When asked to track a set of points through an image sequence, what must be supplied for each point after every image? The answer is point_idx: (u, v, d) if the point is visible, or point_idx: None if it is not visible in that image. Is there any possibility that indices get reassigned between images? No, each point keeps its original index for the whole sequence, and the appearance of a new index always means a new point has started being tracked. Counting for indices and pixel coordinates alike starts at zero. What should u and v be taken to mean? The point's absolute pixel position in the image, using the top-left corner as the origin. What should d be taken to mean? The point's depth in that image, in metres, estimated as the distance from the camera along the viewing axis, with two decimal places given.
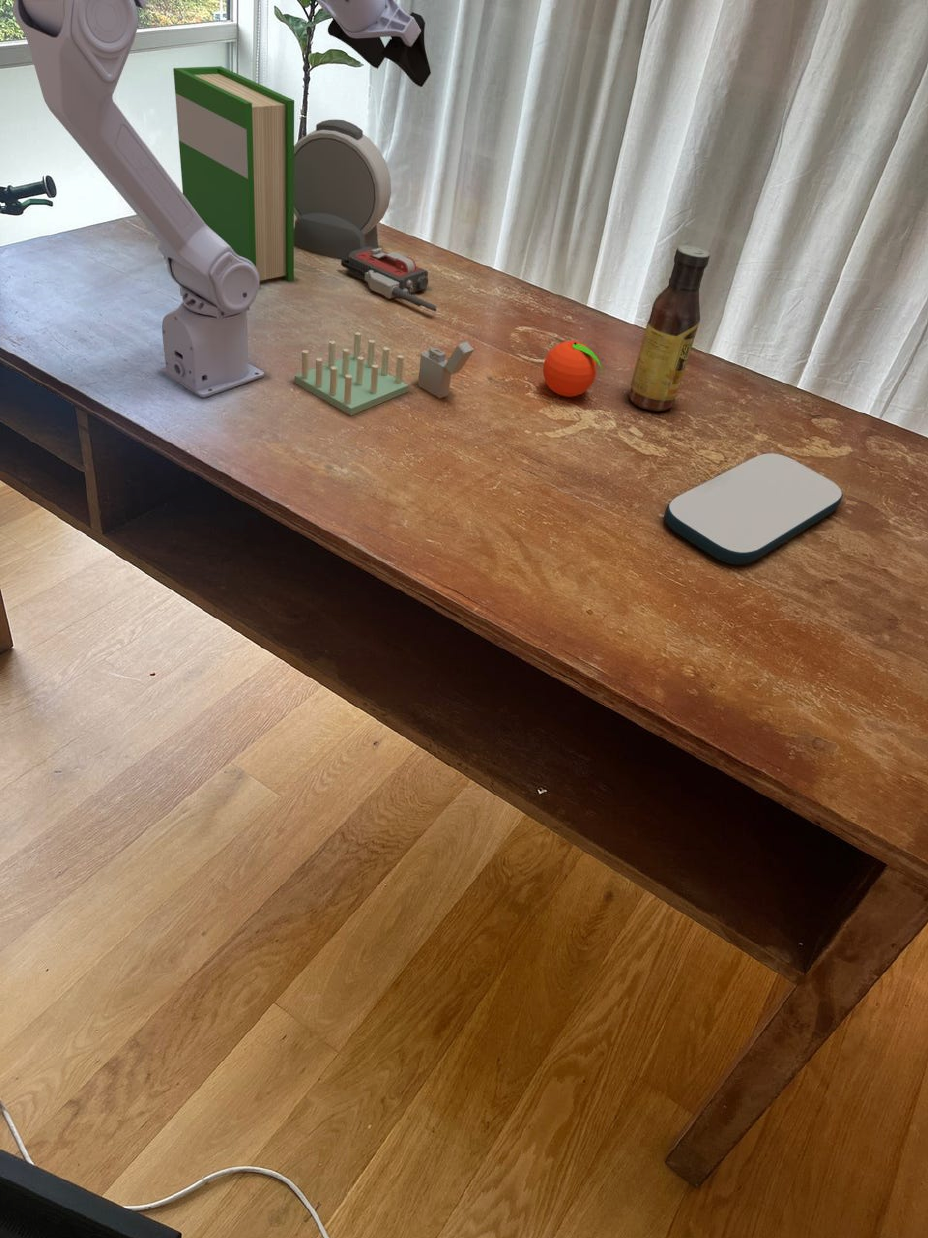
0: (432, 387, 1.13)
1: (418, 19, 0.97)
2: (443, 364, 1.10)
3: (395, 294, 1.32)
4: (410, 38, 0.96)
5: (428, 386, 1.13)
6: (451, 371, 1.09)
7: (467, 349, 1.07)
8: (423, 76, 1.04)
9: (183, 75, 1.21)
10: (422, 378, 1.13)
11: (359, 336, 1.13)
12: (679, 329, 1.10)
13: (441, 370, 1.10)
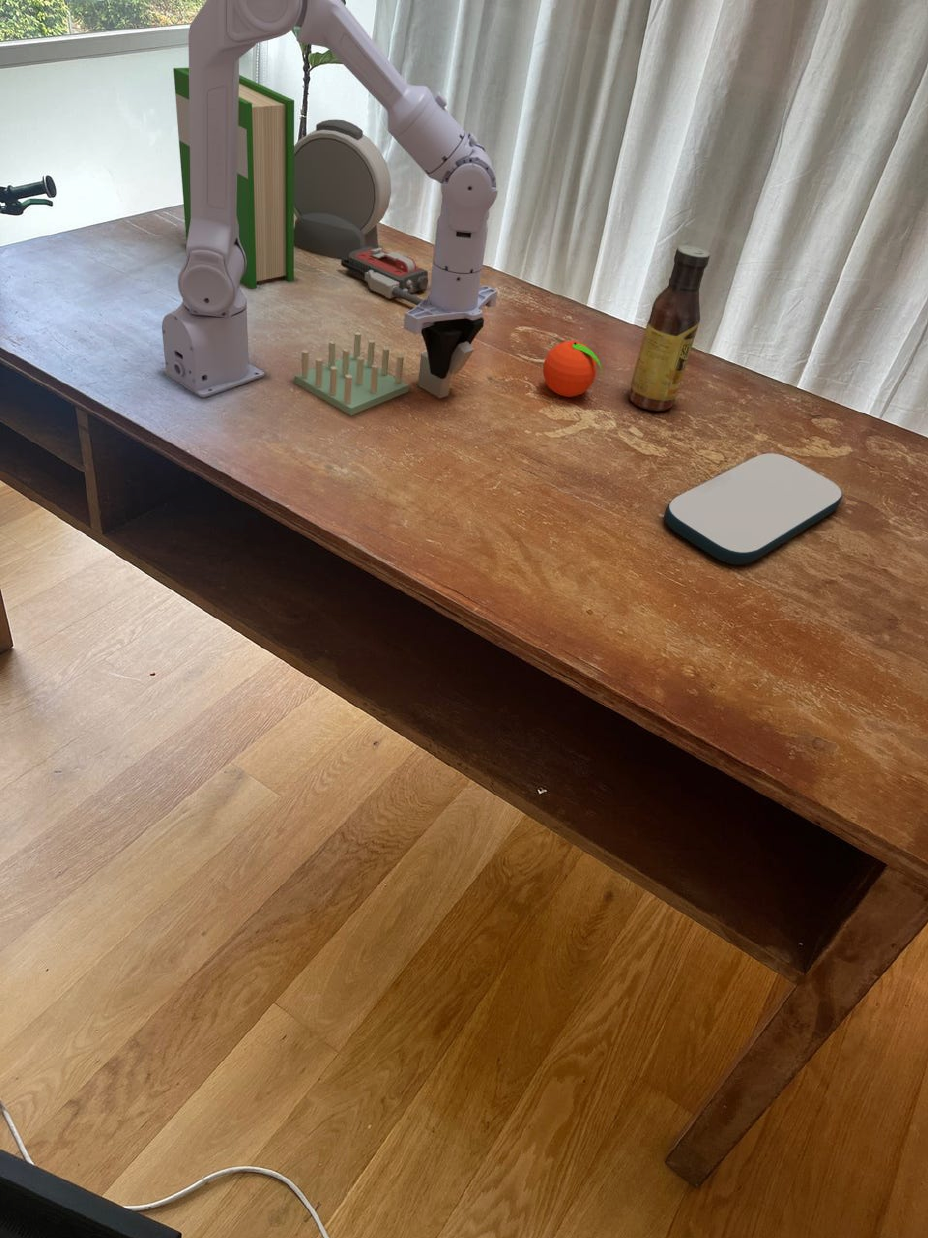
0: (432, 387, 1.13)
1: (449, 332, 1.04)
2: None
3: (395, 294, 1.31)
4: (406, 323, 1.02)
5: (428, 386, 1.13)
6: (451, 371, 1.09)
7: (468, 349, 1.07)
8: (435, 370, 1.10)
9: (183, 75, 1.21)
10: (422, 378, 1.13)
11: (359, 336, 1.13)
12: (679, 329, 1.10)
13: None
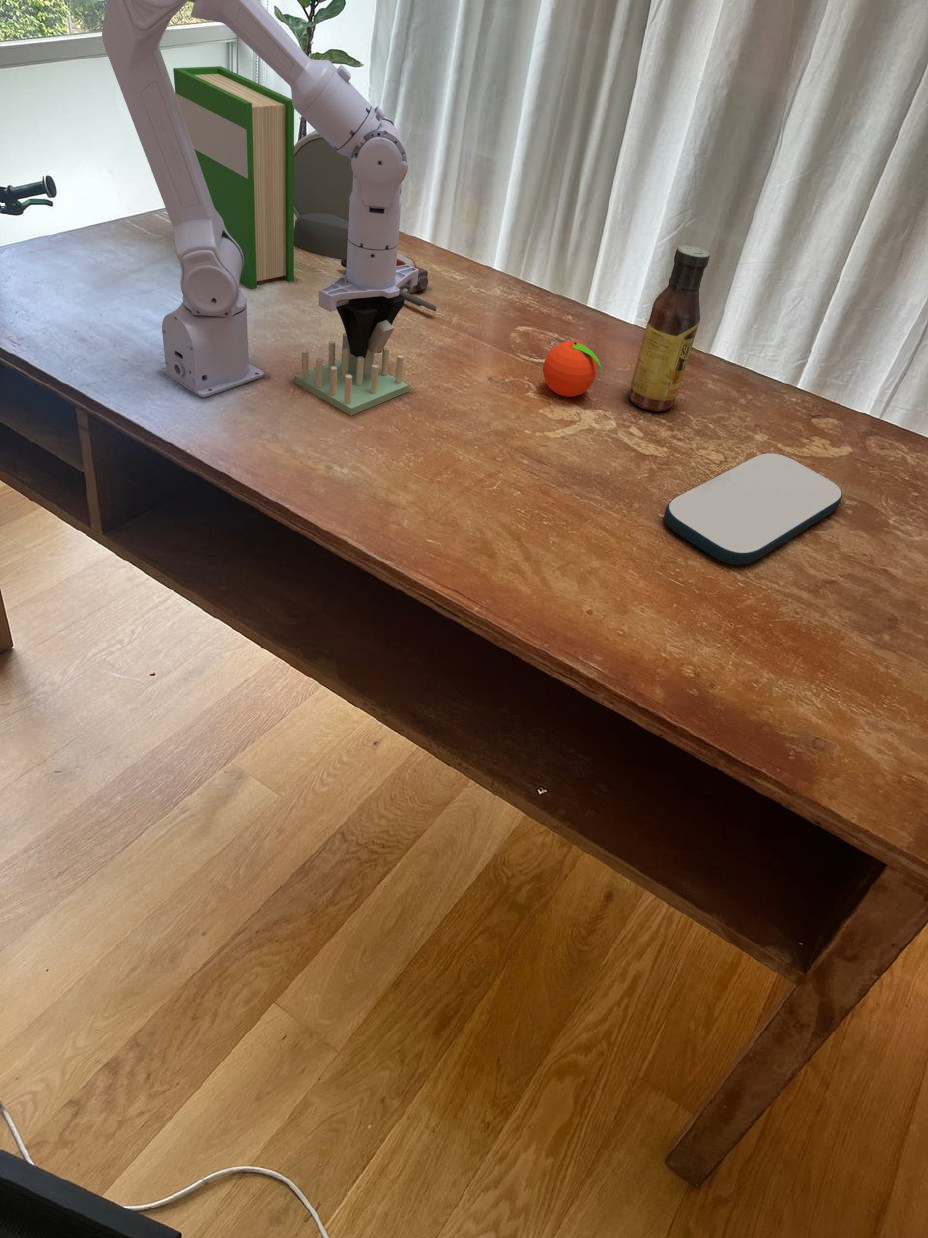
0: (355, 367, 1.12)
1: (364, 311, 1.03)
2: None
3: None
4: (320, 301, 1.01)
5: (351, 366, 1.12)
6: (372, 350, 1.08)
7: (387, 327, 1.06)
8: (354, 350, 1.09)
9: (183, 75, 1.21)
10: None
11: None
12: (679, 329, 1.10)
13: None
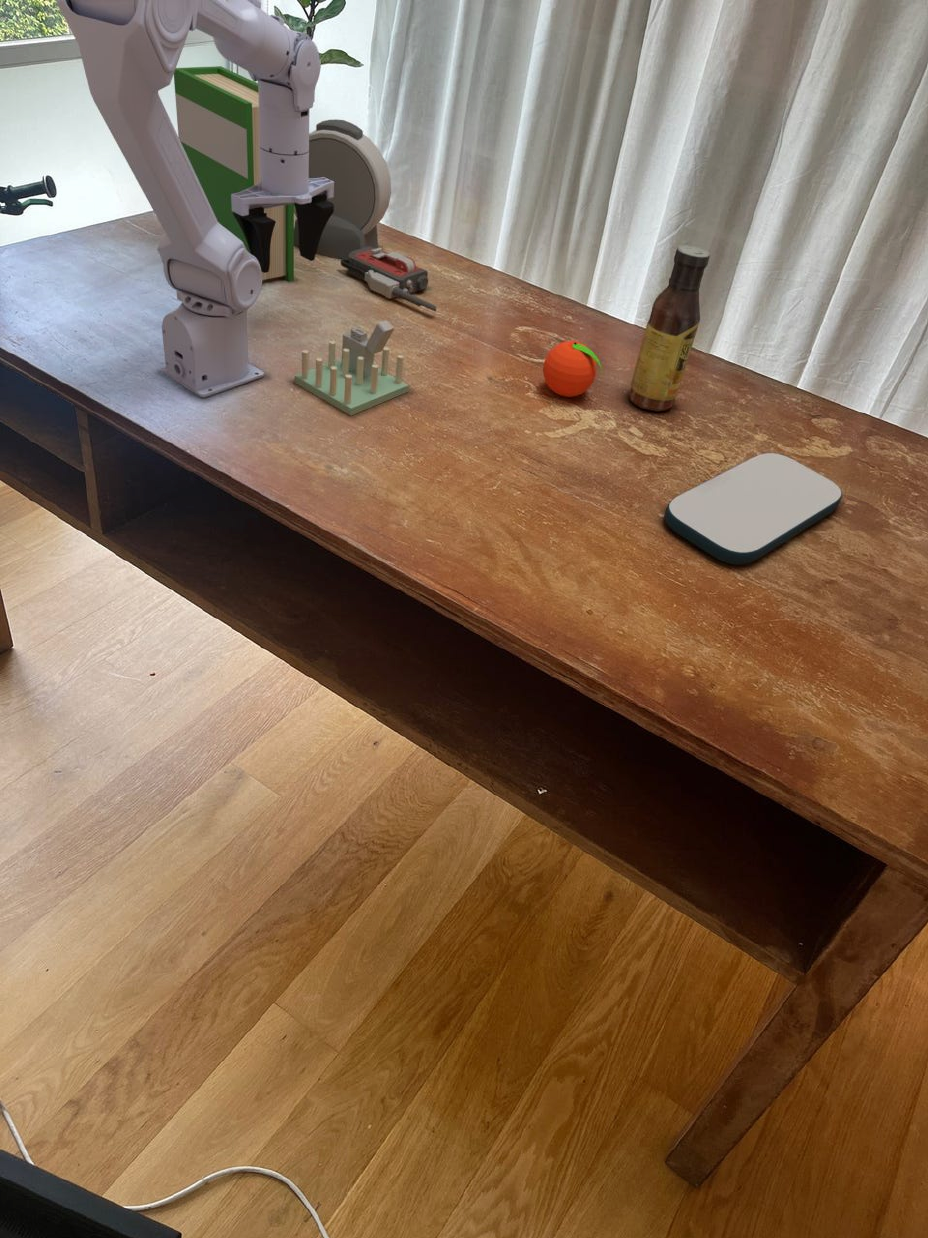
0: (355, 367, 1.12)
1: (261, 220, 1.05)
2: (365, 344, 1.09)
3: (395, 294, 1.31)
4: (233, 205, 1.04)
5: (351, 366, 1.12)
6: (372, 350, 1.08)
7: (387, 327, 1.06)
8: None
9: (183, 75, 1.21)
10: None
11: None
12: (679, 329, 1.10)
13: (363, 350, 1.09)
